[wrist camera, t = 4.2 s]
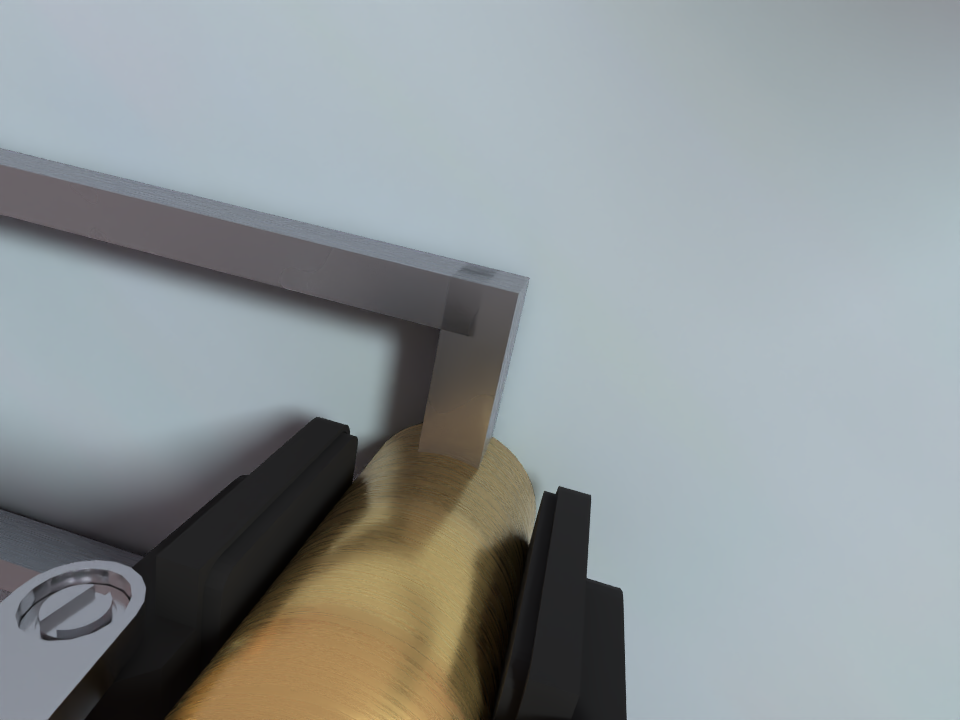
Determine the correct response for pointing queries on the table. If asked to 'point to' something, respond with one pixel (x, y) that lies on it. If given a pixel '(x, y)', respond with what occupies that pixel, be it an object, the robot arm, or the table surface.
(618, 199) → the table surface
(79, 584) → the robot arm
